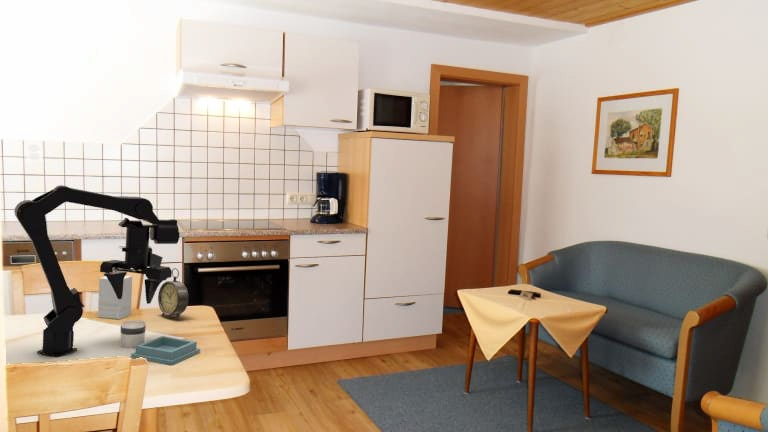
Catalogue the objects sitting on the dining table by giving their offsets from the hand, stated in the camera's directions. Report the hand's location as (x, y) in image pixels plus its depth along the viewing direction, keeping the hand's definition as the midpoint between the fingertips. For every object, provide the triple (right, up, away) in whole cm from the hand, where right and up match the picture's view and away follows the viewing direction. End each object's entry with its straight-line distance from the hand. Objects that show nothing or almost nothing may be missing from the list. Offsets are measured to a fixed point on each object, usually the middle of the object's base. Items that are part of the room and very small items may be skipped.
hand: (134, 301), depth 157 cm
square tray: (+11, -13, -6) cm, 18 cm away
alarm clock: (-1, -10, +32) cm, 33 cm away
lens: (-1, -12, 0) cm, 12 cm away
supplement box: (-19, -9, +28) cm, 35 cm away
